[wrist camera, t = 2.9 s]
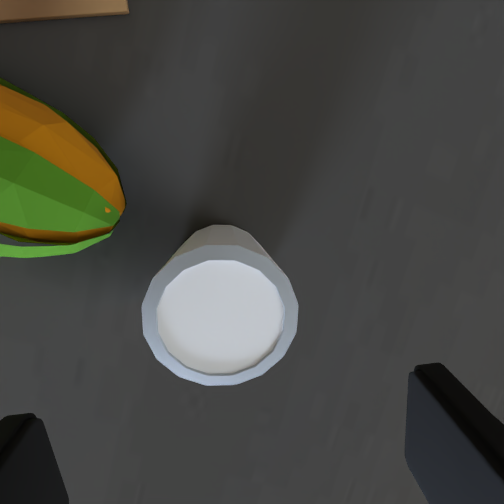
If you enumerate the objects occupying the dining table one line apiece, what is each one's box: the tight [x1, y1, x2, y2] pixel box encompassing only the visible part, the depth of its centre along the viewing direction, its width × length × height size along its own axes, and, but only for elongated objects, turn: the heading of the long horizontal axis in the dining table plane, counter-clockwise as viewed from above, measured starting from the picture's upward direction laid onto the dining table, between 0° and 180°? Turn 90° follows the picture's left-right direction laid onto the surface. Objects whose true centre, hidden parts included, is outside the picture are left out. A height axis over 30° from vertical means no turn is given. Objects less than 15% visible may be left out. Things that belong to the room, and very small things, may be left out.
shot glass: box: [142, 225, 298, 386], centre depth 18 cm, size 7×7×7 cm
